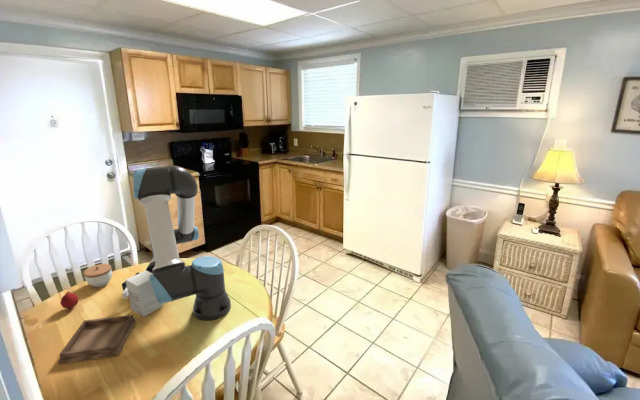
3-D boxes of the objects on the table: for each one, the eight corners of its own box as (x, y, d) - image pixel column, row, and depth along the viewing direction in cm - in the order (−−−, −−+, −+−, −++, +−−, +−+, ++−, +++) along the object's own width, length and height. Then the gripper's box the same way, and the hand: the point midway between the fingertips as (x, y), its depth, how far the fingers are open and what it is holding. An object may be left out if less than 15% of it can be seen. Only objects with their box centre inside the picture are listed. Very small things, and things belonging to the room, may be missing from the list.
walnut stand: (136, 321, 124) (134, 313, 123) (119, 355, 108) (117, 347, 107) (85, 327, 120) (83, 319, 119) (59, 364, 104) (56, 355, 103)
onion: (70, 313, 128) (66, 297, 125) (59, 311, 129) (54, 295, 126) (83, 305, 133) (79, 289, 131) (72, 303, 134) (68, 287, 132)
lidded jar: (88, 293, 142) (83, 275, 139) (86, 282, 149) (82, 265, 146) (115, 284, 148) (111, 267, 145) (112, 275, 156) (108, 258, 153)
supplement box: (151, 299, 138) (146, 269, 133) (163, 305, 134) (158, 275, 129) (130, 310, 131) (124, 279, 126) (143, 317, 126) (137, 286, 122)
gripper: (185, 272, 151) (176, 298, 131) (128, 277, 146) (110, 305, 126) (183, 258, 148) (173, 283, 129) (125, 263, 143) (106, 289, 124)
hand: (142, 294), depth 127 cm, fingers open, 13 cm apart
